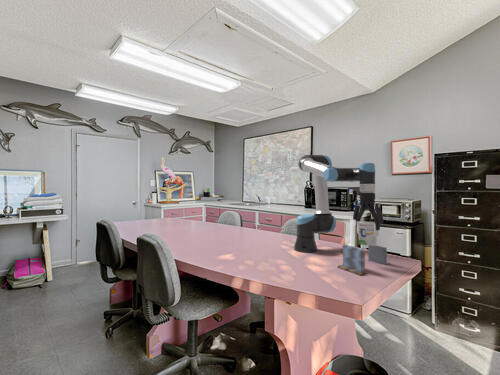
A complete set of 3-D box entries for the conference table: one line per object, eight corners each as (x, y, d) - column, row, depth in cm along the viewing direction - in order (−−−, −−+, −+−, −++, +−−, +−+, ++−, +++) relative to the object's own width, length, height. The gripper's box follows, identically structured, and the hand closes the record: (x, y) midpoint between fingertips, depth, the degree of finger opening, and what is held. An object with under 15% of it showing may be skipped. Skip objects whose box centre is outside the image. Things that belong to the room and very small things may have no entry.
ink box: (376, 244, 138) (376, 221, 138) (376, 246, 134) (376, 223, 133) (359, 242, 142) (358, 220, 142) (358, 244, 138) (358, 222, 137)
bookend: (368, 260, 146) (368, 244, 146) (373, 259, 148) (373, 243, 148) (385, 265, 137) (385, 248, 137) (390, 263, 139) (390, 247, 139)
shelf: (337, 267, 137) (337, 244, 137) (371, 260, 150) (371, 239, 150) (360, 275, 125) (360, 250, 125) (394, 266, 138) (394, 244, 138)
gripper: (345, 192, 146) (345, 232, 146) (382, 192, 126) (382, 239, 126) (354, 191, 149) (354, 231, 149) (391, 192, 130) (391, 237, 130)
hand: (367, 234), depth 138 cm, fingers closed on ink box, 9 cm apart
